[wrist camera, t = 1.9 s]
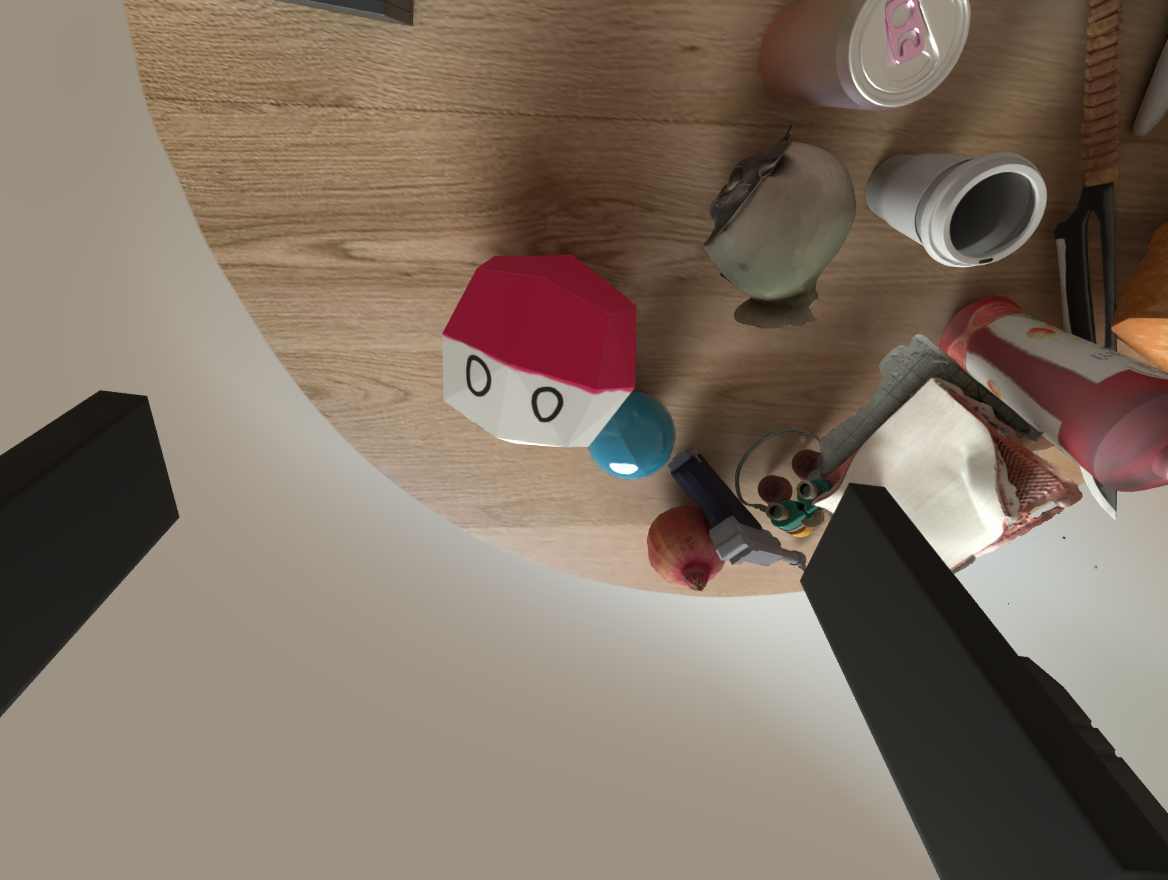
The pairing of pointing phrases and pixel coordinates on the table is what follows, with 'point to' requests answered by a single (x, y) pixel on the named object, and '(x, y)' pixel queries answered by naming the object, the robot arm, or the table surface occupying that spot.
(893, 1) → the beverage can
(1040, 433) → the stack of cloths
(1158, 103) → the long tapered cone
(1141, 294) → the bread
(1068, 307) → the throwing knife
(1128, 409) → the liquor
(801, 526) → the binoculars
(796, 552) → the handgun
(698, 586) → the fruit
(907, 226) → the cup
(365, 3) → the trash bin
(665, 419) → the ball
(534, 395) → the decorative object
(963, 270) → the table surface
